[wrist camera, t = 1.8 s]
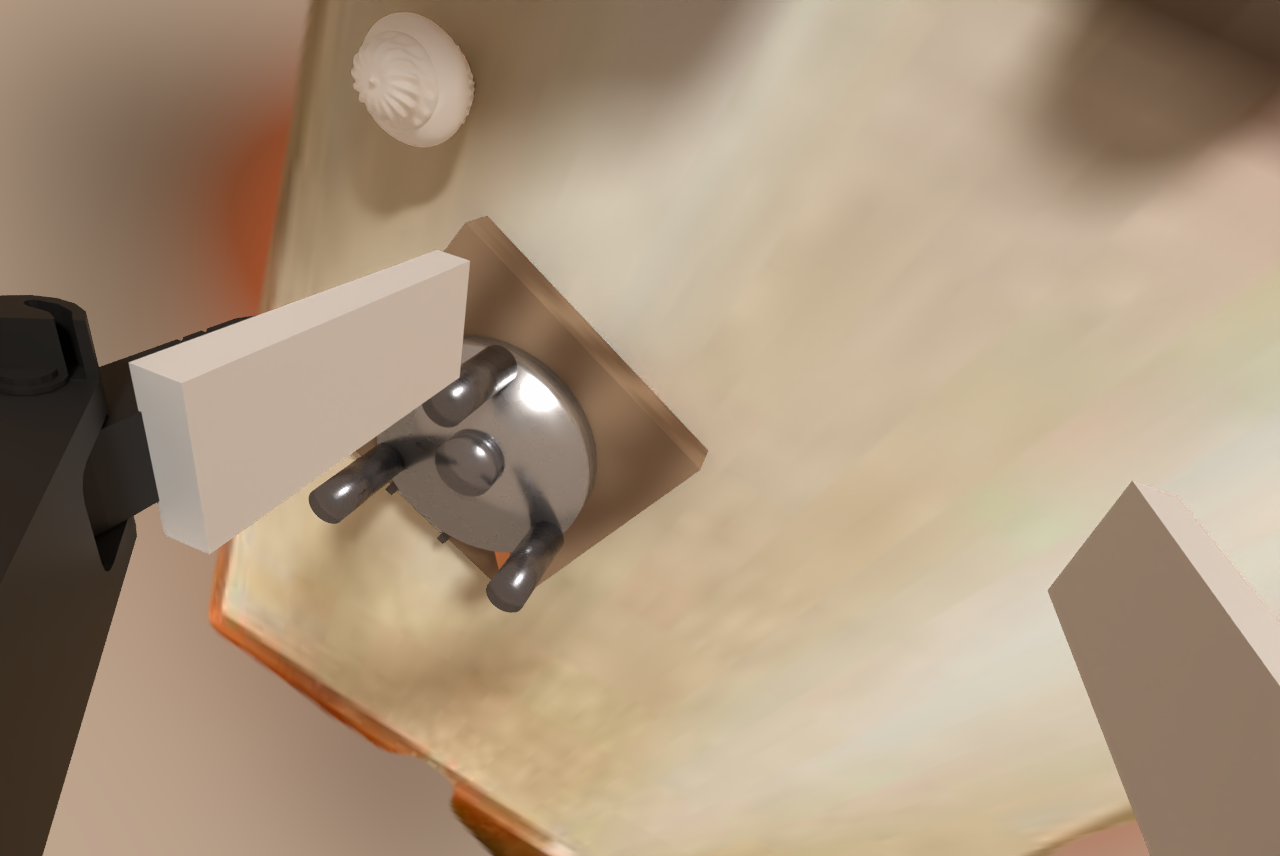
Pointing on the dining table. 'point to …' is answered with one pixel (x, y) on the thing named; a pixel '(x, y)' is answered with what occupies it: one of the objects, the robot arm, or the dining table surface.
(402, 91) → the muffin
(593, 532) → the stand
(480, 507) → the capstan
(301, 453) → the robot arm
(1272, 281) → the dining table surface
